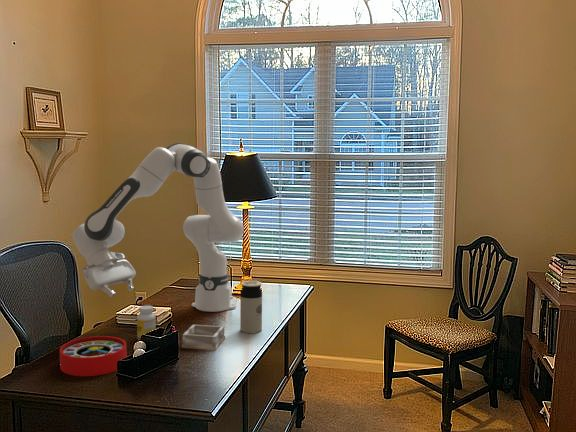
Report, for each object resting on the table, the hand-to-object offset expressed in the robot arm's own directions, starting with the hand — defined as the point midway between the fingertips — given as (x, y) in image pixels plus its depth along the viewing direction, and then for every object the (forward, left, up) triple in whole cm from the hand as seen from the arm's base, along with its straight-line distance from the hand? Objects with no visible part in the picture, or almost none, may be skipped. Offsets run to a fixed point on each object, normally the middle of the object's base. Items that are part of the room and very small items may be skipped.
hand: (122, 292), depth 215 cm
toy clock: (+29, +3, -16) cm, 33 cm away
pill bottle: (+4, +10, -16) cm, 19 cm away
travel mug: (-13, +44, -15) cm, 49 cm away
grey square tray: (+4, +31, -15) cm, 35 cm away
